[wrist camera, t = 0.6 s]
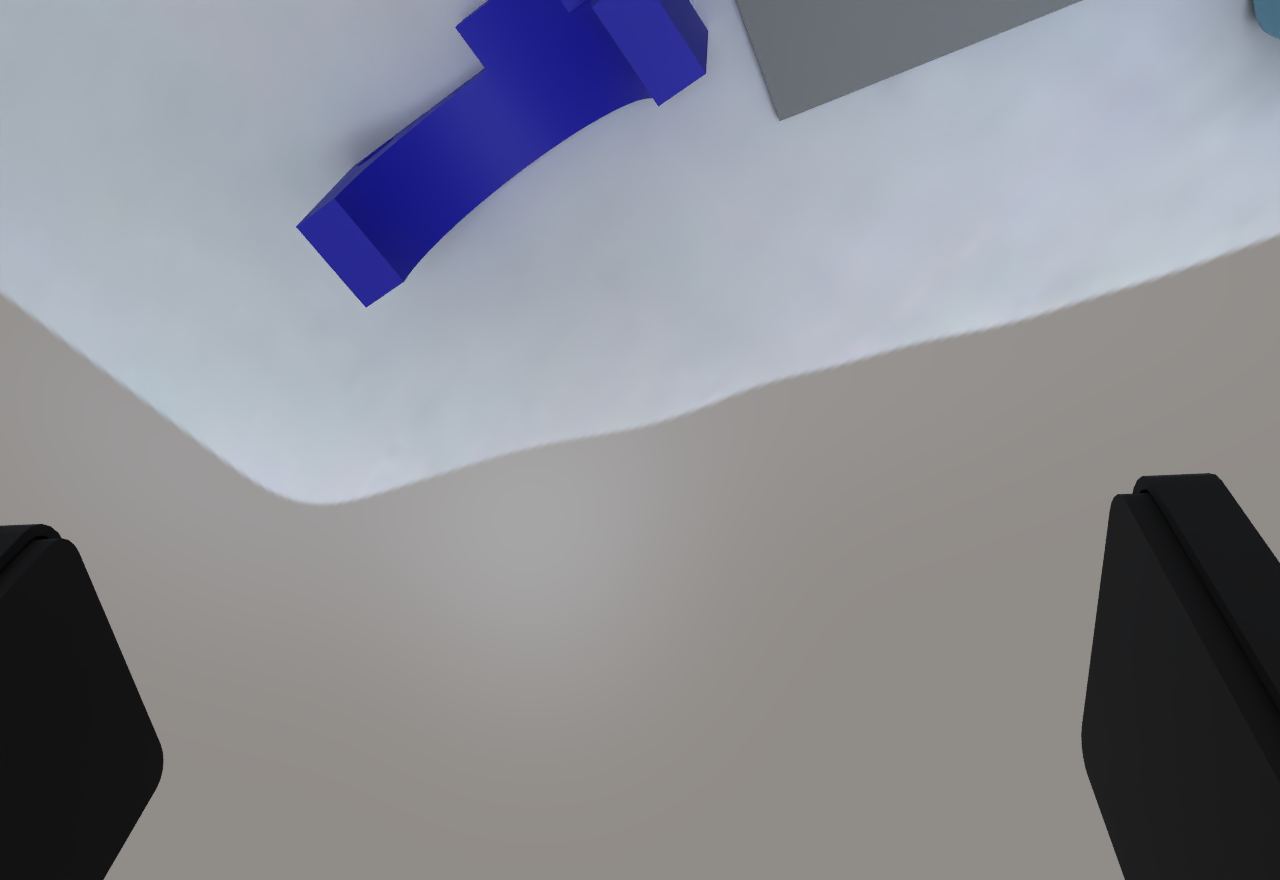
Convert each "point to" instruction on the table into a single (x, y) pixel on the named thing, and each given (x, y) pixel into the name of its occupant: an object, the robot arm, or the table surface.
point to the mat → (866, 40)
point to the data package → (1268, 16)
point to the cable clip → (500, 123)
